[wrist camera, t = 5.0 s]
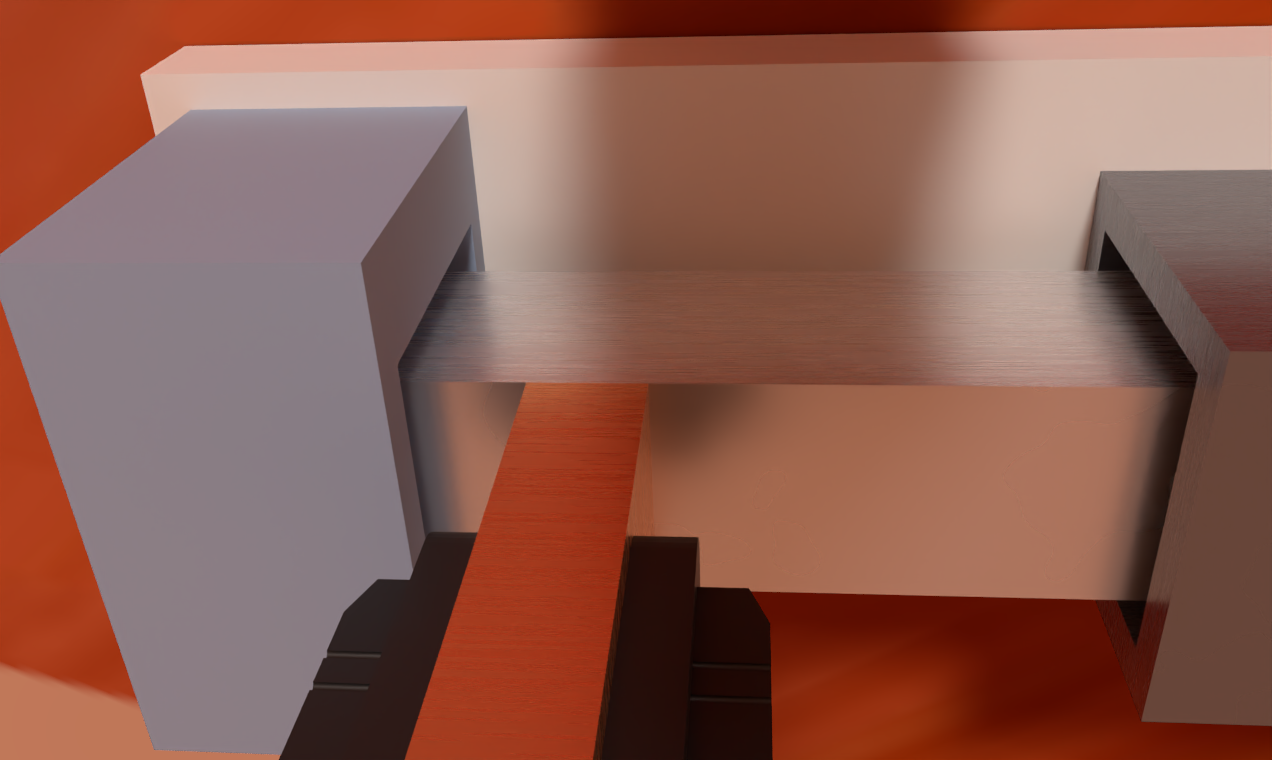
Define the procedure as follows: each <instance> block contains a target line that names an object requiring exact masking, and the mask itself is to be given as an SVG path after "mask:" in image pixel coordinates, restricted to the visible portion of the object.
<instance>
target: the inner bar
mask: <svg viewBox="0 0 1272 760" xmlns="http://www.w3.org/2000/svg"><path fill="white" fill-rule="evenodd" d="M397 366H398V372H399V378H400V384H401V391H402V397H403V403H404V409H405V415H406V422H407V428H408V434H409V440H410V447H411V453H412V459H413V465H414V472H415V478H416V484H417V490H418V497H419V503H420V509H421V515H422V521H423V528H424V534H425V539H426V537H427V535H428V534H429V533H430V532H478V534H477V537H476V540H475V543H474V546H473V549H472V552H471V555H470V558H469V561H468V565H467V568H466V571H465V574H464V577H463V580H462V583H461V586H460V589H459V592H458V596H457V599H456V602H455V605H454V608H453V611H452V614H451V617H450V620H449V623H448V627H447V630H446V633H445V636H444V639H443V642H442V645H441V648H440V651H439V654H438V658H437V661H436V664H435V667H434V670H433V673H432V676H431V679H430V682H429V685H428V689H427V692H426V695H425V698H424V701H423V704H422V707H421V710H420V713H419V716H418V720H417V723H416V726H415V729H414V732H413V735H412V738H411V741H410V744H409V748H408V751H407V754H406V757H405V760H601V757H602V749H603V742H604V735H605V728H606V721H607V714H608V706H609V699H610V692H611V685H612V678H613V671H614V663H615V656H616V649H617V642H618V635H619V628H620V620H621V613H622V606H623V599H624V592H625V585H626V577H627V570H628V563H629V556H630V549H631V542H632V538H633V536H671V537H699V546H700V587H724V588H749V589H750V591H759V592H801V593H842V594H884V595H925V596H967V597H1008V598H1050V599H1091V600H1133V601H1147V597H1148V592H1149V588H1150V583H1151V579H1152V575H1153V570H1154V566H1155V561H1156V557H1157V553H1158V548H1159V544H1160V540H1161V535H1162V531H1163V526H1164V522H1165V518H1166V513H1167V509H1168V504H1169V500H1170V496H1171V491H1172V487H1173V482H1174V478H1175V474H1176V469H1177V465H1178V460H1179V456H1180V452H1181V447H1182V443H1183V438H1184V434H1185V430H1186V425H1187V421H1188V416H1189V412H1190V408H1191V403H1192V399H1193V394H1194V390H1195V386H1196V381H1197V377H1198V373H1197V372H1196V370H1195V369H1194V367H1193V366H1192V364H1191V362H1190V361H1189V359H1188V358H1187V356H1186V355H1185V353H1184V352H1183V350H1182V349H1181V347H1180V345H1179V344H1178V342H1177V341H1176V339H1175V338H1174V336H1173V335H1172V333H1171V332H1170V330H1169V328H1168V327H1167V325H1166V324H1165V322H1164V321H1163V319H1162V318H1161V316H1160V315H1159V313H1158V312H1157V310H1156V308H1155V307H1154V305H1153V304H1152V302H1151V301H1150V299H1149V298H1148V296H1147V295H1146V293H1145V291H1144V290H1143V288H1142V287H1141V285H1140V284H1139V282H1138V281H1137V279H1136V278H1135V276H1134V274H1133V273H1132V271H446V273H445V274H444V276H443V278H442V280H441V282H440V284H439V286H438V288H437V290H436V292H435V294H434V296H433V298H432V299H431V301H430V303H429V305H428V307H427V309H426V311H425V313H424V315H423V317H422V319H421V321H420V323H419V324H418V326H417V328H416V330H415V332H414V334H413V336H412V338H411V340H410V342H409V344H408V346H407V348H406V349H405V351H404V353H403V355H402V357H401V359H400V361H399V363H398V365H397Z"/></svg>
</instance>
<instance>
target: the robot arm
mask: <svg viewBox="0 0 1272 760" xmlns="http://www.w3.org/2000/svg"><path fill="white" fill-rule="evenodd" d="M477 534H478V532H430V533H429V534H428V535H427V537H426V539H425V541H424V543H423V546H422V549H421V551H420V554H419V556H418V559H417V562H416V564H415V567H414V570H413V572H412V575H411V577H410V580H401V579H377V580H376V581H375V582H374V583H373V584H372V585H371V586H370V587H369V588H368V589H367V590H366V591H365V592H364V593H363V594H362V595H361V596H360V597H359V598H358V599H357V600H356V601H355V602H353V603H352V604H351V605H350V606H349V607H348V608H347V609H346V610H345V611H344V612H343V615H342V617H341V619H340V622H339V624H338V626H337V628H336V631H335V633H334V635H333V637H332V640H331V642H330V644H329V647H328V649H327V657H326V658H323V660H322V663H321V665H320V667H319V669H318V672H317V674H316V676H315V678H314V681H313V689H312V690H309V692H308V694H307V697H306V699H305V701H304V704H303V706H302V708H301V710H300V713H299V715H298V717H297V720H296V722H295V724H294V726H293V729H292V731H291V733H290V735H289V738H288V740H287V742H286V745H285V747H284V749H283V751H282V754H281V756H280V759H279V760H405V757H406V754H407V751H408V748H409V744H410V741H411V738H412V735H413V732H414V729H415V726H416V723H417V720H418V716H419V713H420V710H421V707H422V704H423V701H424V698H425V695H426V692H427V689H428V685H429V682H430V679H431V676H432V673H433V670H434V667H435V664H436V661H437V658H438V654H439V651H440V648H441V645H442V642H443V639H444V636H445V633H446V630H447V627H448V623H449V620H450V617H451V614H452V611H453V608H454V605H455V602H456V599H457V596H458V592H459V589H460V586H461V583H462V580H463V577H464V574H465V571H466V568H467V565H468V561H469V558H470V555H471V552H472V549H473V546H474V543H475V540H476V537H477ZM601 760H773V759H772V706H771V648H770V623H769V621H768V619H767V618H766V616H765V614H764V613H763V611H762V609H761V608H760V606H759V604H758V603H757V601H756V599H755V598H754V596H753V594H752V593H751V591H750V589H749V588H724V587H700V546H699V537H671V536H633V538H632V542H631V549H630V556H629V563H628V570H627V577H626V585H625V592H624V599H623V606H622V613H621V620H620V628H619V635H618V642H617V649H616V656H615V663H614V671H613V678H612V685H611V692H610V699H609V706H608V714H607V721H606V728H605V735H604V742H603V749H602V757H601Z"/></svg>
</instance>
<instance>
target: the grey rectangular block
mask: <svg viewBox="0 0 1272 760" xmlns="http://www.w3.org/2000/svg"><path fill="white" fill-rule="evenodd" d="M1084 271H1132V273H1133V274H1134V276H1135V278H1136V279H1137V281H1138V282H1139V284H1140V285H1141V287H1142V288H1143V290H1144V291H1145V293H1146V295H1147V296H1148V298H1149V299H1150V301H1151V302H1152V304H1153V305H1154V307H1155V308H1156V310H1157V312H1158V313H1159V315H1160V316H1161V318H1162V319H1163V321H1164V322H1165V324H1166V325H1167V327H1168V328H1169V330H1170V332H1171V333H1172V335H1173V336H1174V338H1175V339H1176V341H1177V342H1178V344H1179V345H1180V347H1181V349H1182V350H1183V352H1184V353H1185V355H1186V356H1187V358H1188V359H1189V361H1190V362H1191V364H1192V366H1193V367H1194V369H1195V370H1196V372H1197V373H1198V377H1197V381H1196V386H1195V390H1194V394H1193V399H1192V403H1191V408H1190V412H1189V416H1188V421H1187V425H1186V430H1185V434H1184V438H1183V443H1182V447H1181V452H1180V456H1179V460H1178V465H1177V469H1176V474H1175V478H1174V482H1173V487H1172V491H1171V496H1170V500H1169V504H1168V509H1167V513H1166V518H1165V522H1164V526H1163V531H1162V535H1161V540H1160V544H1159V548H1158V553H1157V557H1156V561H1155V566H1154V570H1153V575H1152V579H1151V583H1150V588H1149V592H1148V597H1147V601H1133V600H1096V603H1097V605H1098V608H1099V611H1100V613H1101V616H1102V619H1103V621H1104V624H1105V627H1106V629H1107V632H1108V635H1109V637H1110V640H1111V643H1112V645H1113V648H1114V651H1115V653H1116V656H1117V659H1118V661H1119V664H1120V667H1121V669H1122V672H1123V674H1124V677H1125V680H1126V682H1127V685H1128V688H1129V690H1130V693H1131V696H1132V698H1133V701H1134V704H1135V706H1136V709H1137V712H1138V714H1139V717H1140V720H1141V722H1170V723H1201V724H1231V725H1261V726H1272V170H1165V171H1100V177H1099V183H1098V190H1097V196H1096V202H1095V208H1094V214H1093V220H1092V226H1091V232H1090V238H1089V244H1088V251H1087V257H1086V263H1085V269H1084Z"/></svg>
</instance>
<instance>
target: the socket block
mask: <svg viewBox="0 0 1272 760" xmlns="http://www.w3.org/2000/svg"><path fill="white" fill-rule="evenodd" d="M446 271H485V264H484V255H483V246H482V237H481V229H480V220H479V211H478V202H477V193H476V184H475V175H474V167H473V158H472V149H471V140H470V131H469V122H468V113H467V106H433V107H358V108H284V109H210V110H190V111H188V112H187V113H186V114H184V115H183V116H182V117H180V118H179V119H178V120H177V121H175V122H174V123H173V124H171V125H170V126H169V127H167V128H166V129H165V130H163V131H162V132H161V133H159V134H158V135H157V136H155V137H154V138H153V139H151V140H150V141H149V142H148V143H146V144H145V145H144V146H142V147H141V148H140V149H138V150H137V151H136V152H134V153H133V154H132V155H130V156H129V157H128V158H126V159H125V160H124V161H122V162H121V163H120V164H118V165H117V166H116V167H115V168H113V169H112V170H111V171H109V172H108V173H107V174H105V175H104V176H103V177H101V178H100V179H99V180H97V181H96V182H95V183H93V184H92V185H91V186H89V187H88V188H87V189H86V190H84V191H83V192H82V193H80V194H79V195H78V196H76V197H75V198H74V199H72V200H71V201H70V202H68V203H67V204H66V205H64V206H63V207H62V208H60V209H59V210H58V211H57V212H55V213H54V214H53V215H51V216H50V217H49V218H47V219H46V220H45V221H43V222H42V223H41V224H39V225H38V226H37V227H35V228H34V229H33V230H31V231H30V232H29V233H27V234H26V235H25V236H24V237H22V238H21V239H20V240H18V241H17V242H16V243H14V244H13V245H12V246H10V247H9V248H8V249H6V250H5V251H4V252H2V253H1V254H0V299H1V302H2V305H3V308H4V311H5V314H6V317H7V320H8V323H9V326H10V329H11V332H12V335H13V338H14V340H15V343H16V346H17V349H18V352H19V355H20V358H21V361H22V364H23V367H24V370H25V373H26V376H27V379H28V381H29V384H30V387H31V390H32V393H33V396H34V399H35V402H36V405H37V408H38V411H39V414H40V417H41V420H42V422H43V425H44V428H45V431H46V434H47V437H48V440H49V443H50V446H51V449H52V452H53V455H54V458H55V461H56V464H57V466H58V469H59V472H60V475H61V478H62V481H63V484H64V487H65V490H66V493H67V496H68V499H69V502H70V505H71V507H72V510H73V513H74V516H75V519H76V522H77V525H78V528H79V531H80V534H81V537H82V540H83V543H84V546H85V548H86V551H87V554H88V557H89V560H90V563H91V566H92V569H93V572H94V575H95V578H96V581H97V584H98V587H99V589H100V592H101V595H102V598H103V601H104V604H105V607H106V610H107V613H108V616H109V619H110V622H111V625H112V628H113V630H114V633H115V636H116V639H117V642H118V645H119V648H120V651H121V654H122V657H123V660H124V663H125V666H126V669H127V671H128V674H129V677H130V680H131V683H132V686H133V689H134V692H135V695H136V698H137V701H138V704H139V707H140V710H141V712H142V715H143V718H144V721H145V724H146V727H147V730H148V733H149V736H150V739H151V742H152V745H153V748H154V750H173V751H174V750H175V751H200V752H226V753H252V754H278V755H281V754H282V751H283V749H284V747H285V745H286V742H287V740H288V738H289V735H290V733H291V731H292V729H293V726H294V724H295V722H296V720H297V717H298V715H299V713H300V710H301V708H302V706H303V704H304V701H305V699H306V697H307V694H308V692H309V690H312V689H313V681H314V678H315V676H316V674H317V672H318V669H319V667H320V665H321V663H322V660H323V658H326V657H327V649H328V647H329V644H330V642H331V640H332V637H333V635H334V633H335V631H336V628H337V626H338V624H339V622H340V619H341V617H342V615H343V612H344V611H345V610H346V609H347V608H348V607H349V606H350V605H351V604H352V603H353V602H355V601H356V600H357V599H358V598H359V597H360V596H361V595H362V594H363V593H364V592H365V591H366V590H367V589H368V588H369V587H370V586H371V585H372V584H373V583H374V582H375V581H376V580H377V579H401V580H410V577H411V575H412V572H413V570H414V567H415V564H416V562H417V559H418V556H419V554H420V551H421V549H422V546H423V543H424V541H425V534H424V528H423V521H422V515H421V509H420V503H419V497H418V490H417V484H416V478H415V472H414V465H413V459H412V453H411V447H410V440H409V434H408V428H407V422H406V415H405V409H404V403H403V397H402V391H401V384H400V378H399V372H398V366H397V365H398V363H399V361H400V359H401V357H402V355H403V353H404V351H405V349H406V348H407V346H408V344H409V342H410V340H411V338H412V336H413V334H414V332H415V330H416V328H417V326H418V324H419V323H420V321H421V319H422V317H423V315H424V313H425V311H426V309H427V307H428V305H429V303H430V301H431V299H432V298H433V296H434V294H435V292H436V290H437V288H438V286H439V284H440V282H441V280H442V278H443V276H444V274H445V273H446Z"/></svg>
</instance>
